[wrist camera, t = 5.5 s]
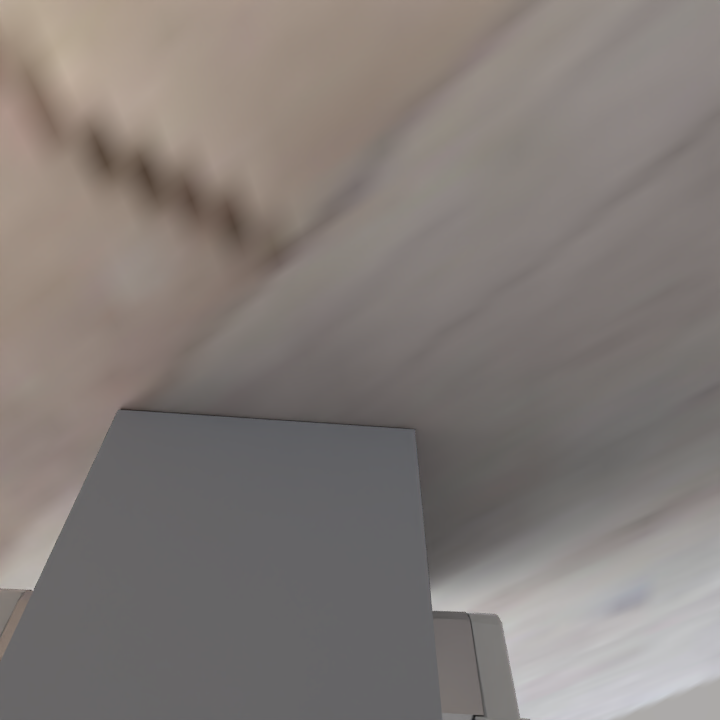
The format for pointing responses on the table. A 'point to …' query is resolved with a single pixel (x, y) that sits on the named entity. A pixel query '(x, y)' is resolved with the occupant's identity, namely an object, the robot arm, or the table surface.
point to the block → (234, 579)
